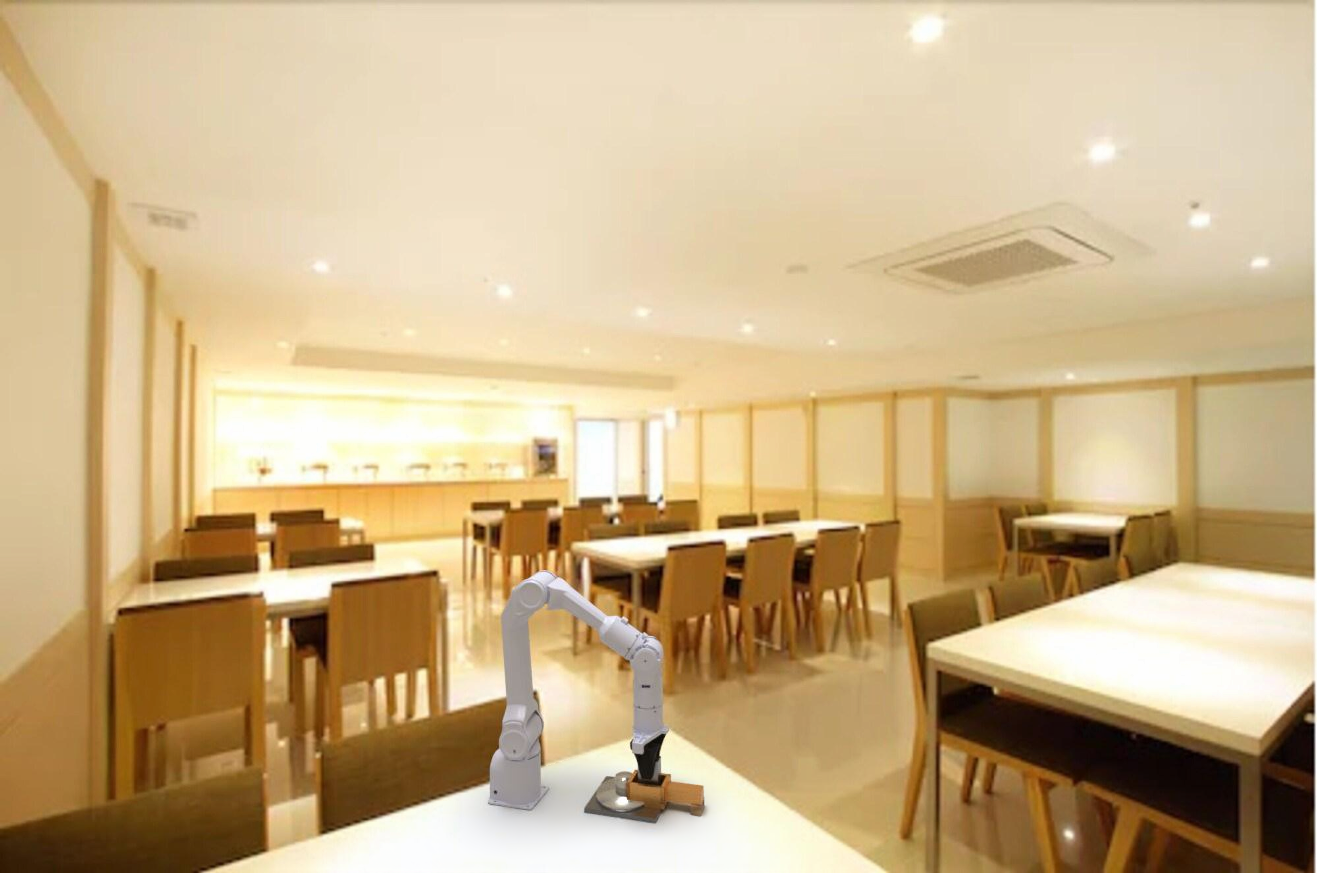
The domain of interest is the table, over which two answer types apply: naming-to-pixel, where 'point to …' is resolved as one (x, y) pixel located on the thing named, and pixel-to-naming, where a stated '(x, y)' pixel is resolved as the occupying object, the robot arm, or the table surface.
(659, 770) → the brushed metal block
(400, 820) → the table surface
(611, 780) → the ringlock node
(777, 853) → the table surface
